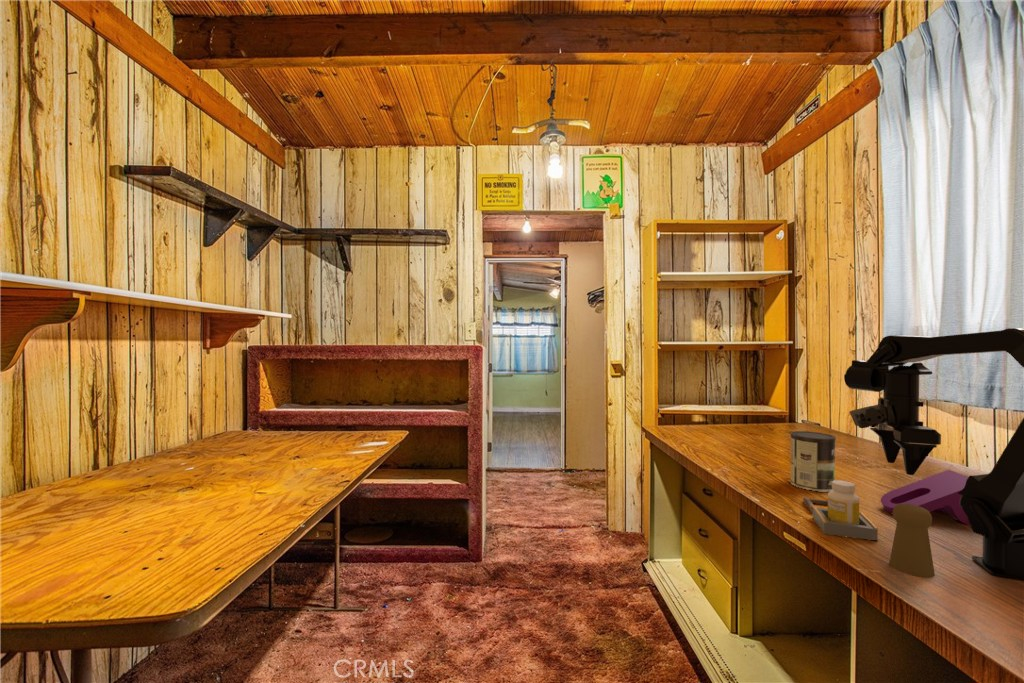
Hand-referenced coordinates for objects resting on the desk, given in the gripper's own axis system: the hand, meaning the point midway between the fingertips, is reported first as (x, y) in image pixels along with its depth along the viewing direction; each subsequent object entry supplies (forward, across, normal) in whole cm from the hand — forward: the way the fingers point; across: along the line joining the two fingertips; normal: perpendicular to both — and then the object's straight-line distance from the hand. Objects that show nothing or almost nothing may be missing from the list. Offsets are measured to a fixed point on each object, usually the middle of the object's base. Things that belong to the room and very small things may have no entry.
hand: (899, 468), depth 95 cm
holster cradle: (+13, -7, -11) cm, 18 cm away
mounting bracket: (+14, -13, +10) cm, 21 cm away
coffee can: (+13, -26, -10) cm, 31 cm away
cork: (+13, +19, -5) cm, 24 cm away
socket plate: (+13, +4, -11) cm, 17 cm away
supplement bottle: (+13, +4, -11) cm, 18 cm away
